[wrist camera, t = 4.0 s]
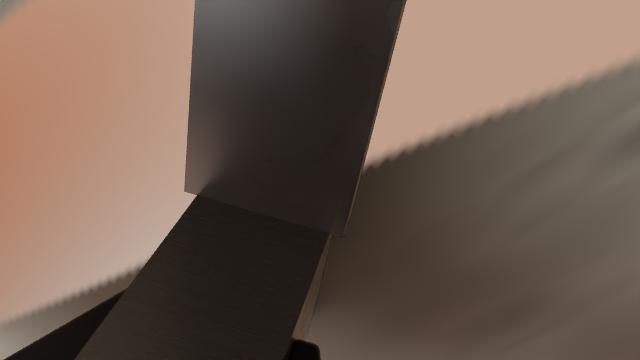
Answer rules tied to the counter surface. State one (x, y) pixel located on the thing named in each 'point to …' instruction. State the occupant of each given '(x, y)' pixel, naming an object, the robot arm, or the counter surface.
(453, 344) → the counter surface
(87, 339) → the robot arm
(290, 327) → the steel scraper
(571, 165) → the counter surface
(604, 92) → the counter surface
